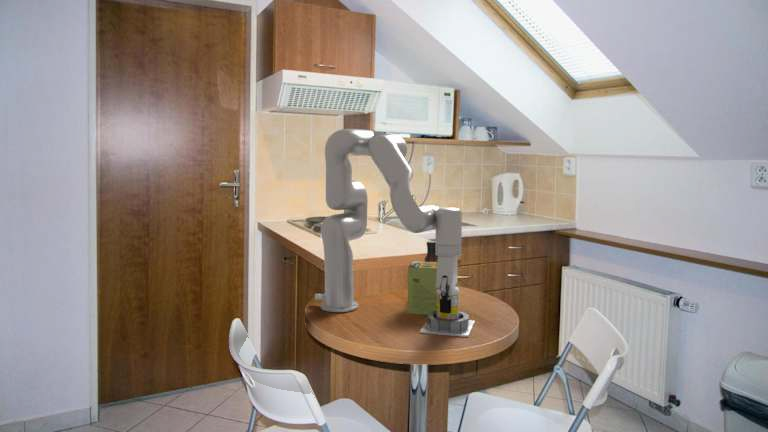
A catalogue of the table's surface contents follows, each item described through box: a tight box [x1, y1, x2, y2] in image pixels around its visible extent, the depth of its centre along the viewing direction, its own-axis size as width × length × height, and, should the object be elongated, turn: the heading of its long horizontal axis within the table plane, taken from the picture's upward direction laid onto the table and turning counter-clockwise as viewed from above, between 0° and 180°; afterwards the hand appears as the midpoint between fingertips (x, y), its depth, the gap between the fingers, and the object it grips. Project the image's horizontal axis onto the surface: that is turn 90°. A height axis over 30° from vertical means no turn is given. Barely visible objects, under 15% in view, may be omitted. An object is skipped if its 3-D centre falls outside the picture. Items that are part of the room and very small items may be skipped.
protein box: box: [407, 261, 458, 316], centre depth 179 cm, size 10×15×16 cm
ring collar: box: [419, 310, 476, 338], centre depth 162 cm, size 14×14×4 cm
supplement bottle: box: [437, 281, 460, 321], centre depth 162 cm, size 7×7×13 cm
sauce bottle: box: [424, 240, 438, 262], centre depth 199 cm, size 7×6×20 cm
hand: (447, 308), depth 162 cm, fingers closed on supplement bottle, 6 cm apart
